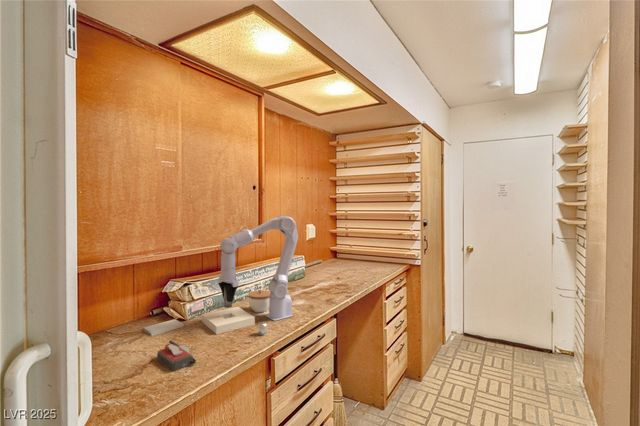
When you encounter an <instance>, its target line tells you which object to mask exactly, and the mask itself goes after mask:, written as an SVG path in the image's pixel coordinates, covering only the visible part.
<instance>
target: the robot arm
mask: <svg viewBox="0 0 640 426" xmlns="http://www.w3.org/2000/svg"><path fill="white" fill-rule="evenodd" d="M271 230H274V231H275V230H277V231H280V232H281V233H282V234H283V236H284V238H285V240H284V244H283V248H282V251H281V253H280V254H281V255H280V258H279V260H278V261H279V262H278V265H277V267H276V268H277V269H276V271H275V274H273V276H272V279H271V280H270V282H269V283H268V291H269V292H271V293H270V295H269V308H268V309H269V310H268V313H266V314H265V317H267V318H268V319H270V320H272V321H274V322H275V321H276V322H277V321H281V320H283V319H288V318H291V317H293V316H294V315H293V311H292V307H293V304H292V303H293V300H292V298H291V296H290V295H289V294H287V293H288V283H289V281H288V279H289V278H288V275H289V272H290V269H291V265H292V261H293V258H294V254H295V251H296V247H297V243H298V240H299V234H298V229H297V223H296V221H295V220H294V218H292V217H291V216H286V215H279V216H277V217H273V218H271V219H269V220H268V221H265V222H263V223H262V224H259V225H257V227H254V228H252V229H250V230H249V229H247V228H246V229H243V228H242V229H240V231H239V232H238V233H235V234H231V235H229V237H225V238H223V239H222V240H221V241H220V245H219V247H220V249H221V256H220V274H219V275H218V280H217V281H218V283H217V284H218V286H219V289H220V291H221V294H222V298H223V300H224V288H225V291H226V297H227V302H232V303H233V301H234V298H235V294H236V292H237V289H238V287H239V281H238V280H237V277H236V266H237V265H236V261H237V260H236V259H237V257H236V251H237V249H240V248H242V247H244V246H246V245H248V244H249V243H252V242H253V241H254V238H255V237H257V236H259V235H261V234H264V233H266V232H269V231H271Z"/></svg>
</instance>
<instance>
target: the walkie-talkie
mask: <svg viewBox="0 0 640 426" xmlns="http://www.w3.org/2000/svg"><path fill="white" fill-rule="evenodd" d="M168 343H169V345H166V346H165V347H164V348H163V349H160V350H159V351H157V355H156V356H157V357H156V359H157V360H158V361H159V362H160V363H161V364H162V365H164V366H165V367H166V368H167V369H169V370H170V371H172V372H177V371H179V370H181V369H184V368H186V367H187V368H188V367H189V366H192V365H193V364H196V359H195V358H194V355H192V354H191V353H190V348H189V347H187V346H186V345H185V344H182V345H179V344H178V343H176V342H175V341H173V340H172V339H171V340H169V341H168Z"/></svg>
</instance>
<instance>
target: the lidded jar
mask: <svg viewBox="0 0 640 426" xmlns="http://www.w3.org/2000/svg"><path fill="white" fill-rule="evenodd" d="M270 293H271V291H270V290H262V289H259V290H253V291H251V292H249V293H248V304H249V307H250V309H251V310H252V311H253V312H254V313H265V312H267V310H268V309H269V295H270Z"/></svg>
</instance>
